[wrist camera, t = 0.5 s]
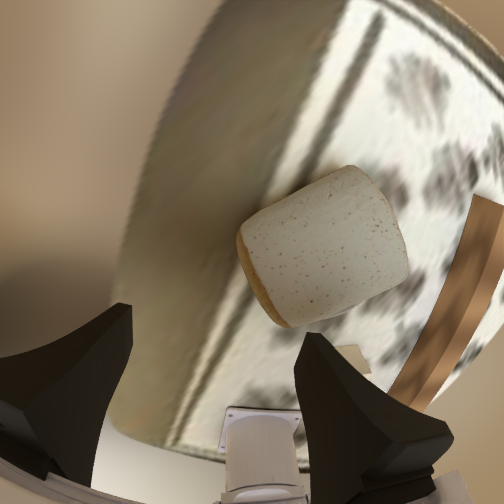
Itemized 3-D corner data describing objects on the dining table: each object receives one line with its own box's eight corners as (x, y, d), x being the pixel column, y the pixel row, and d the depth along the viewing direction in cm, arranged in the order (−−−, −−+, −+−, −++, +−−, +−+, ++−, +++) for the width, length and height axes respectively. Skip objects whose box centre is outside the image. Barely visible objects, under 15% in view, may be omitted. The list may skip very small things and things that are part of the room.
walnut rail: (402, 398, 29) (414, 422, 25) (382, 400, 28) (394, 426, 25) (491, 202, 20) (520, 214, 16) (473, 194, 20) (504, 205, 16)
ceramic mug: (228, 214, 20) (223, 262, 13) (335, 156, 19) (389, 173, 11) (295, 324, 24) (316, 395, 16) (383, 277, 22) (431, 333, 15)
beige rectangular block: (343, 387, 27) (354, 416, 23) (306, 392, 27) (313, 422, 23) (356, 343, 25) (371, 373, 21) (315, 347, 25) (325, 379, 21)
